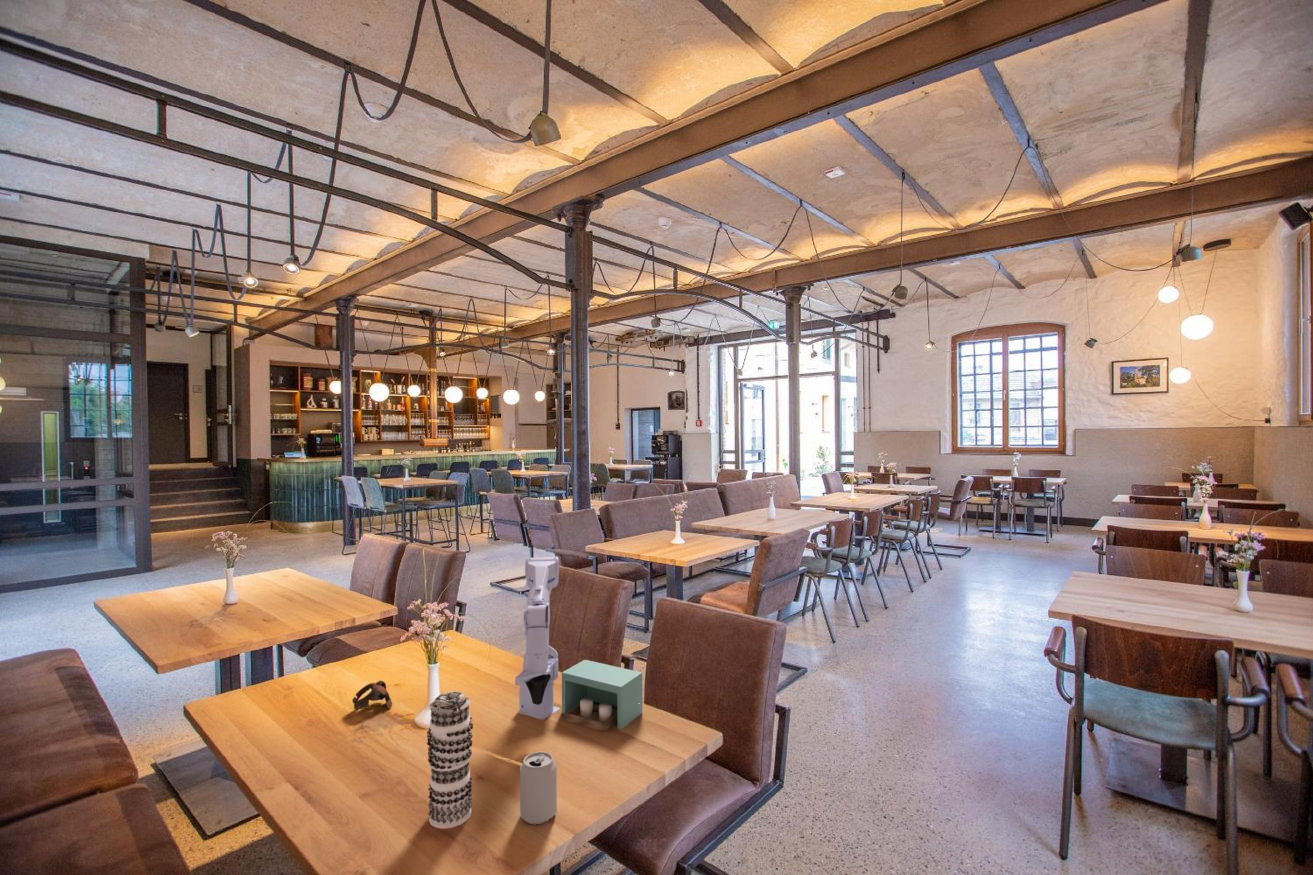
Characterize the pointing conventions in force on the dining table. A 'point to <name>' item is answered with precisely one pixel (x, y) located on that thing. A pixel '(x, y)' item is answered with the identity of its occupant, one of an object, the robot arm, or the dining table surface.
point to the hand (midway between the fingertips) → (537, 703)
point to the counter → (604, 688)
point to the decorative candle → (449, 760)
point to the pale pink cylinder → (605, 712)
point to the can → (538, 788)
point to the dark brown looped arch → (372, 695)
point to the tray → (590, 718)
